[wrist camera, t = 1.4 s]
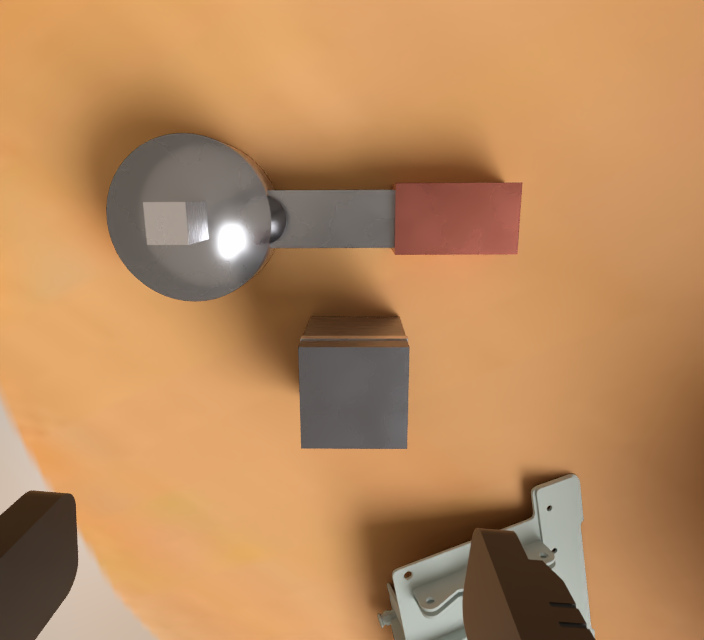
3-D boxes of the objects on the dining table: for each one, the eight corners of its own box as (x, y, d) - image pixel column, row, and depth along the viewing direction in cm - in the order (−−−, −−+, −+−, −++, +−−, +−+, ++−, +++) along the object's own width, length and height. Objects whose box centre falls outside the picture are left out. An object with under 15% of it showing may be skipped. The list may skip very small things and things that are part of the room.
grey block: (400, 315, 29) (410, 346, 23) (398, 400, 30) (408, 449, 24) (309, 315, 29) (296, 346, 23) (312, 400, 30) (300, 449, 24)
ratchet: (509, 138, 26) (550, 121, 21) (499, 290, 28) (535, 314, 22) (125, 140, 27) (60, 125, 21) (141, 290, 29) (85, 315, 23)
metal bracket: (427, 785, 30) (381, 568, 26) (394, 697, 35) (352, 509, 32) (631, 687, 33) (613, 482, 29) (570, 620, 38) (550, 441, 35)
